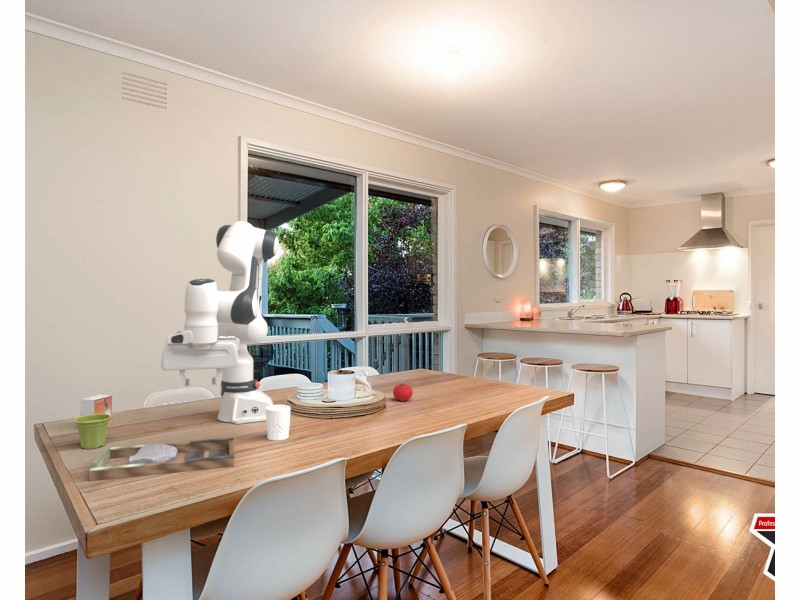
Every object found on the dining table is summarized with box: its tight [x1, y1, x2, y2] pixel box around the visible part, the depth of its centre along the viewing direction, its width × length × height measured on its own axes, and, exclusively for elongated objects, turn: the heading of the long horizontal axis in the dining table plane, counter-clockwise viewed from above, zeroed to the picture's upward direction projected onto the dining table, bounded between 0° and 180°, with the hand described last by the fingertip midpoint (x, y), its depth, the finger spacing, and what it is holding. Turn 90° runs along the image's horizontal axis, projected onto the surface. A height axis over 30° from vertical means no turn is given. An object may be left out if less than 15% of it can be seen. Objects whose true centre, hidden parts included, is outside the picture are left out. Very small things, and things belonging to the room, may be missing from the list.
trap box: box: [89, 437, 235, 482], centre depth 134 cm, size 34×18×4 cm, turn 110°
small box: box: [79, 394, 113, 427], centre depth 165 cm, size 8×6×10 cm
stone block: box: [127, 443, 178, 465], centre depth 133 cm, size 12×5×10 cm
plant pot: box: [74, 414, 111, 450], centre depth 145 cm, size 9×9×9 cm
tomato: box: [392, 382, 414, 402], centre depth 214 cm, size 9×9×8 cm
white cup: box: [265, 404, 292, 442], centre depth 157 cm, size 8×8×10 cm
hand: (200, 384), depth 136 cm, fingers open, 6 cm apart
